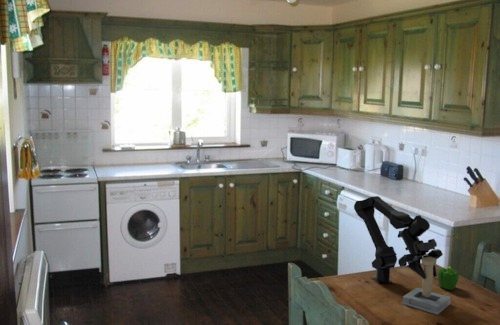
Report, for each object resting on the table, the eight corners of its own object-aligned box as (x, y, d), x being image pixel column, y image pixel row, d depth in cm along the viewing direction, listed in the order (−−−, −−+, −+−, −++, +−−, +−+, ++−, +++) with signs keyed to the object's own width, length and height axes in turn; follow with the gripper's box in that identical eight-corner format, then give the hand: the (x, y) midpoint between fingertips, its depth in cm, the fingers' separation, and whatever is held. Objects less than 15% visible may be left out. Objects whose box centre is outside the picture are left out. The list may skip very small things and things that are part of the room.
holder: (402, 303, 200) (402, 296, 199) (416, 294, 209) (416, 287, 209) (437, 314, 190) (437, 307, 190) (450, 304, 200) (450, 296, 200)
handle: (436, 295, 200) (439, 259, 197) (427, 300, 196) (430, 263, 193) (425, 291, 203) (428, 256, 201) (416, 295, 199) (419, 259, 197)
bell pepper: (438, 282, 222) (440, 260, 221) (458, 286, 218) (460, 264, 217) (435, 289, 215) (436, 266, 214) (455, 293, 211) (457, 270, 210)
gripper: (405, 235, 195) (424, 272, 187) (441, 229, 203) (460, 265, 195) (390, 248, 204) (407, 284, 195) (425, 242, 211) (443, 277, 203)
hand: (430, 277), depth 197 cm, fingers closed on handle, 5 cm apart
